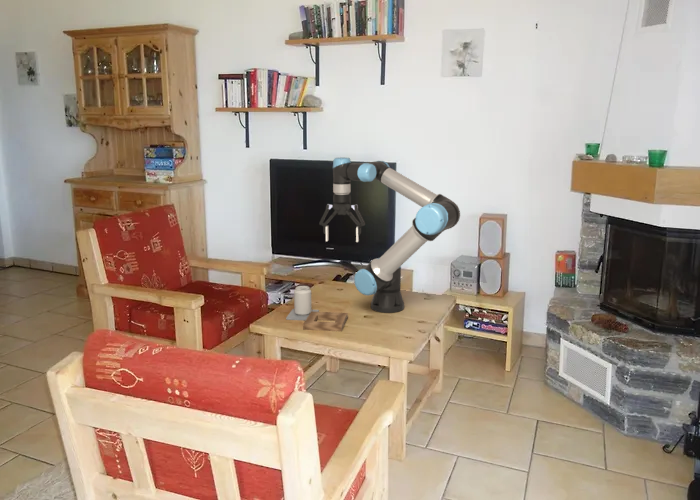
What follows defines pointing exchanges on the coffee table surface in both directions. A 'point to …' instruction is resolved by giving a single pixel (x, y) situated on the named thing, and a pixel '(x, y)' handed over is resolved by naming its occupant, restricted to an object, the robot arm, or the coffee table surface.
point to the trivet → (294, 316)
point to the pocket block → (325, 326)
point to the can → (302, 300)
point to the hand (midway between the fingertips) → (342, 241)
